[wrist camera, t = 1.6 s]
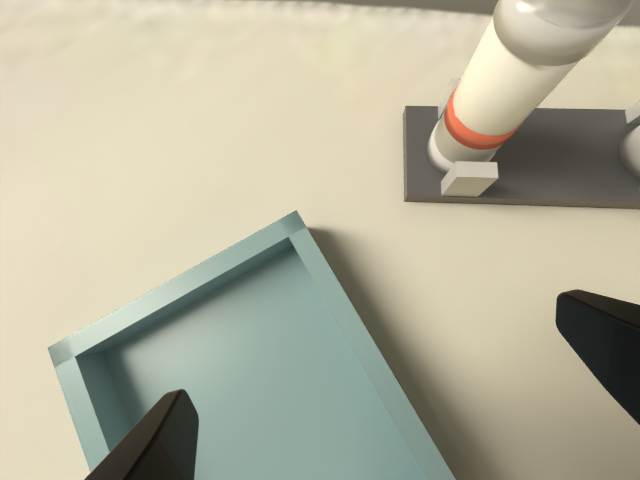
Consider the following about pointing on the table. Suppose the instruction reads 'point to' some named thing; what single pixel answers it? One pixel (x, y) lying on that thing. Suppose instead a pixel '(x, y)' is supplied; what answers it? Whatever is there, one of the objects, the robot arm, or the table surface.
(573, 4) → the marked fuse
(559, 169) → the fuse holder
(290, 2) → the table surface
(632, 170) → the fuse
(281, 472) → the tray
